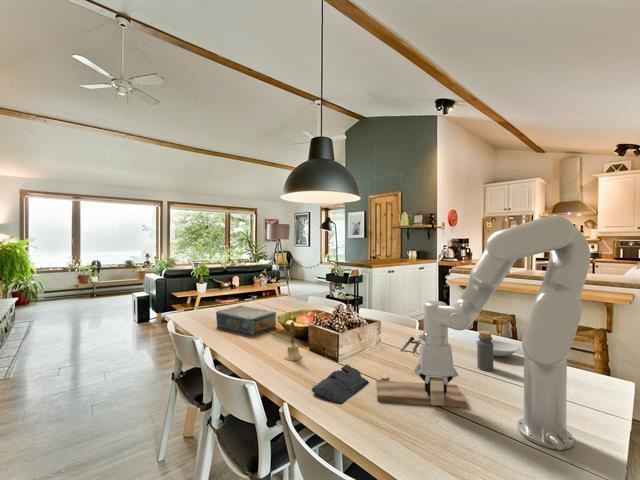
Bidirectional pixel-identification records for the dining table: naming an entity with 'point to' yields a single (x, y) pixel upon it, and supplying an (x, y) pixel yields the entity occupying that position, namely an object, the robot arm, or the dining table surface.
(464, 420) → the dining table surface
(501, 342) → the dish
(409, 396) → the walnut board
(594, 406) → the dining table surface
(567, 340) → the robot arm
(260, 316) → the metal box
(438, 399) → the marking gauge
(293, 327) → the hand bell
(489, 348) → the bottle
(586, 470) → the dining table surface
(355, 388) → the dark slate chunk
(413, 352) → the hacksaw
